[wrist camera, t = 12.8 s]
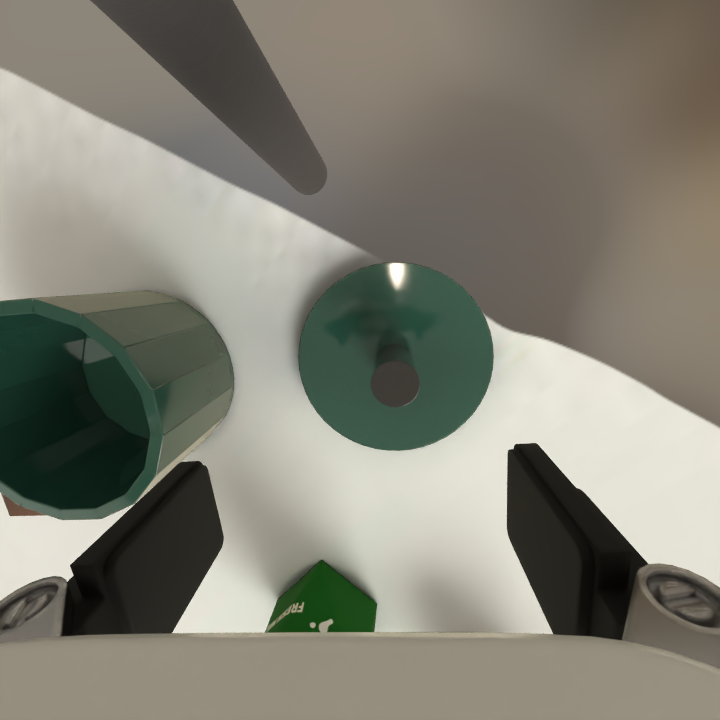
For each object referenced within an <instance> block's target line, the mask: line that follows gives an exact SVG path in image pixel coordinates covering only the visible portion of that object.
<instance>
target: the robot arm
mask: <svg viewBox="0 0 720 720" xmlns="http://www.w3.org/2000/svg"><path fill="white" fill-rule="evenodd" d="M507 531H508V536H509V539H510V541H511V544H512V546H513V548H514V550H515V552H516V554H517V557H518V559H519V561H520V563H521V565H522V567H523V569H524V572H525V574H526V576H527V578H528V580H529V582H530V585H531V587H532V589H533V591H534V593H535V595H536V597H537V600H538V602H539V604H540V606H541V608H542V610H543V613H544V615H545V617H546V619H547V621H548V623H549V626H550V628H551V630H552V632H553V634H529V633H447V632H290V633H172V632H173V630H174V628H175V627H176V625H177V623H178V621H179V620H180V618H181V616H182V615H183V613H184V611H185V610H186V608H187V606H188V604H189V603H190V601H191V599H192V598H193V596H194V594H195V592H196V591H197V589H198V587H199V586H200V584H201V582H202V580H203V579H204V577H205V575H206V574H207V572H208V570H209V569H210V567H211V565H212V563H213V562H214V560H215V558H216V557H217V555H218V553H219V551H220V550H221V548H222V545H223V540H224V536H223V531H222V527H221V523H220V519H219V514H218V510H217V506H216V502H215V498H214V493H213V489H212V485H211V481H210V477H209V472H208V469H207V467H206V466H204V465H203V464H202V463H201V462H200V461H191V462H180V463H179V464H177V465H176V466H175V467H174V468H173V469H172V470H171V471H170V472H169V473H168V474H167V475H166V476H165V477H164V478H162V479H161V480H160V481H159V482H158V483H157V484H156V485H155V486H154V487H153V488H152V489H151V490H150V491H149V492H148V493H147V494H145V495H144V496H143V497H142V498H141V499H140V500H139V501H138V502H137V503H136V504H135V505H134V506H133V507H132V508H131V509H130V510H128V511H127V512H126V513H125V514H124V515H123V516H122V517H121V518H120V519H119V520H118V521H117V522H116V523H115V524H114V525H112V526H111V527H110V528H109V529H108V530H107V531H106V532H105V533H104V534H103V535H102V536H101V537H100V538H99V539H98V540H97V541H95V542H94V543H93V544H92V545H91V546H90V547H89V548H88V549H87V550H86V551H85V552H84V553H83V554H82V555H81V556H80V557H78V558H77V559H76V560H75V561H74V562H73V563H72V564H71V565H70V567H71V569H72V572H73V575H74V576H73V577H72V578H71V579H70V580H69V581H68V582H67V581H66V580H65V579H64V578H62V577H57V576H52V577H47V578H42V579H40V580H37V581H34V582H32V583H29V584H27V585H25V586H23V587H21V588H19V589H17V590H16V591H14V592H13V593H11V594H10V595H8V596H7V597H5V598H4V599H2V600H1V601H0V720H720V587H718V586H716V585H715V584H713V583H712V582H710V581H709V580H707V579H705V578H704V577H702V576H699V575H697V574H695V573H693V572H691V571H689V570H686V569H683V568H679V567H676V566H673V565H666V564H648V563H647V562H646V561H645V560H644V559H643V558H642V556H641V555H640V554H639V553H638V552H637V551H636V550H635V549H634V548H633V546H632V545H631V544H630V543H629V542H628V541H627V540H626V539H625V538H624V536H623V535H622V534H621V533H620V532H619V531H618V530H617V529H616V527H615V526H614V525H613V524H612V523H611V522H610V521H609V520H608V519H607V517H606V516H605V515H604V514H603V513H602V512H601V511H600V510H599V508H598V507H597V506H596V505H595V504H594V503H593V502H592V501H591V500H590V498H589V497H588V496H587V495H586V494H585V493H584V492H583V491H582V490H581V489H577V488H576V487H575V486H574V485H573V484H572V483H571V482H570V481H569V479H568V478H567V477H566V476H565V475H564V474H563V473H562V472H561V470H560V469H559V468H558V467H557V466H556V465H555V464H554V462H553V461H552V460H551V459H550V458H549V457H548V456H547V454H546V453H545V452H544V451H543V450H542V449H541V448H540V446H539V445H538V444H536V443H530V444H516V445H515V446H514V449H511V450H508V475H507Z"/></svg>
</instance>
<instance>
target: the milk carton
mask: <svg viewBox="0 0 720 720" xmlns="http://www.w3.org/2000/svg"><path fill="white" fill-rule="evenodd" d="M376 609H377V603H376V602H374V601H373V600H372V599H371V598H369V597H368V596H367V595H366V594H364V593H363V592H362V591H360V590H359V589H358V588H357V587H355V586H354V585H353V584H352V583H350V582H349V581H348V580H346V579H345V578H344V577H343V576H341V575H340V574H339V573H337V572H336V571H335V570H334V569H332V568H331V567H330V566H329V565H327V564H326V563H325V562H323V561H322V560H321V561H320V562H319V563H318V564H317V565H316V566H314V567H313V568H312V569H311V570H310V571H309V572H308V573H307V574H306V575H305V576H304V577H302V578H301V579H300V580H299V581H298V582H297V583H296V584H295V585H294V586H293V587H291V588H290V589H289V590H288V591H287V592H286V593H285V594H284V595H283V596H282V597H281V598H279V599H278V600H277V603H276V606H275V608H274V611H273V613H272V616H271V618H270V621H269V624H268V626H267V629H266V631H265V633H290V632H374V629H375V619H376Z"/></svg>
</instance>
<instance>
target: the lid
mask: <svg viewBox="0 0 720 720" xmlns="http://www.w3.org/2000/svg"><path fill="white" fill-rule="evenodd" d="M298 357H299V370H300V375H301V380H302V383H303V386H304V389H305V392H306V394H307V396H308V398H309V400H310V402H311V404H312V405H313V407H314V408H315V410H316V411H317V413H318V414H319V415H320V416H321V417H322V418H323V420H324V421H325V422H326V423H327V424H328V425H330V426H331V427H332V428H333V429H334V430H336V431H337V432H338V433H340V434H341V435H343V436H344V437H346V438H348V439H350V440H352V441H354V442H356V443H359V444H361V445H364V446H367V447H371V448H375V449H381V450H395V451H400V450H411V449H416V448H420V447H424V446H427V445H430V444H433V443H435V442H437V441H439V440H441V439H443V438H445V437H447V436H448V435H450V434H451V433H453V432H455V431H456V430H457V429H458V428H459V427H461V426H462V425H463V424H464V423H465V422H466V421H467V420H468V419H469V418H470V417H471V416H472V415H473V413H474V412H475V410H476V409H477V408H478V406H479V405H480V403H481V401H482V399H483V397H484V395H485V393H486V391H487V388H488V385H489V383H490V379H491V374H492V370H493V358H494V355H493V342H492V337H491V333H490V329H489V326H488V324H487V321H486V318H485V317H484V315H483V313H482V311H481V309H480V307H479V306H478V304H477V303H476V302H475V300H474V299H473V298H472V296H471V295H470V294H469V293H468V292H467V291H466V290H465V289H464V288H463V287H462V286H460V285H459V284H458V283H457V282H455V281H454V280H453V279H451V278H450V277H448V276H446V275H444V274H442V273H441V272H439V271H436V270H434V269H431V268H429V267H425V266H421V265H417V264H411V263H403V262H396V263H395V262H391V263H382V264H375V265H371V266H368V267H365V268H361V269H359V270H357V271H355V272H353V273H350V274H348V275H347V276H345V277H344V278H342V279H340V280H339V281H337V282H336V283H335V284H334V285H332V286H331V287H330V288H329V289H328V290H327V291H326V292H325V293H324V294H323V295H322V296H321V297H320V298H319V300H318V301H317V303H316V304H315V305H314V307H313V308H312V310H311V312H310V314H309V316H308V318H307V320H306V322H305V325H304V328H303V330H302V334H301V339H300V344H299V356H298Z"/></svg>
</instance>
